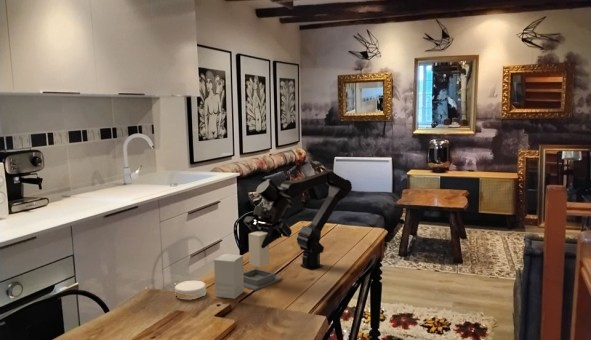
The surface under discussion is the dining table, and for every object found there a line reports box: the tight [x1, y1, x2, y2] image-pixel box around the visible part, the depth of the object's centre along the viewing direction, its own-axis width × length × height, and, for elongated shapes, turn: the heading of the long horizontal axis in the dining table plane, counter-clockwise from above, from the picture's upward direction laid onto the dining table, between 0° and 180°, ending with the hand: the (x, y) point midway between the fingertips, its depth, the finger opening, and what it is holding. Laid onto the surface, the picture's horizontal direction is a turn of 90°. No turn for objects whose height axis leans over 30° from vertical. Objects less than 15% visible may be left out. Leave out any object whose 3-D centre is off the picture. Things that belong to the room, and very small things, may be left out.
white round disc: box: [174, 280, 207, 297], centre depth 156 cm, size 10×10×4 cm
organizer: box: [243, 267, 283, 291], centre depth 169 cm, size 14×12×3 cm
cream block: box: [248, 230, 270, 268], centre depth 166 cm, size 5×5×11 cm
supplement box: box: [213, 253, 245, 300], centre depth 156 cm, size 7×7×13 cm
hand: (256, 246), depth 165 cm, fingers closed on cream block, 5 cm apart
